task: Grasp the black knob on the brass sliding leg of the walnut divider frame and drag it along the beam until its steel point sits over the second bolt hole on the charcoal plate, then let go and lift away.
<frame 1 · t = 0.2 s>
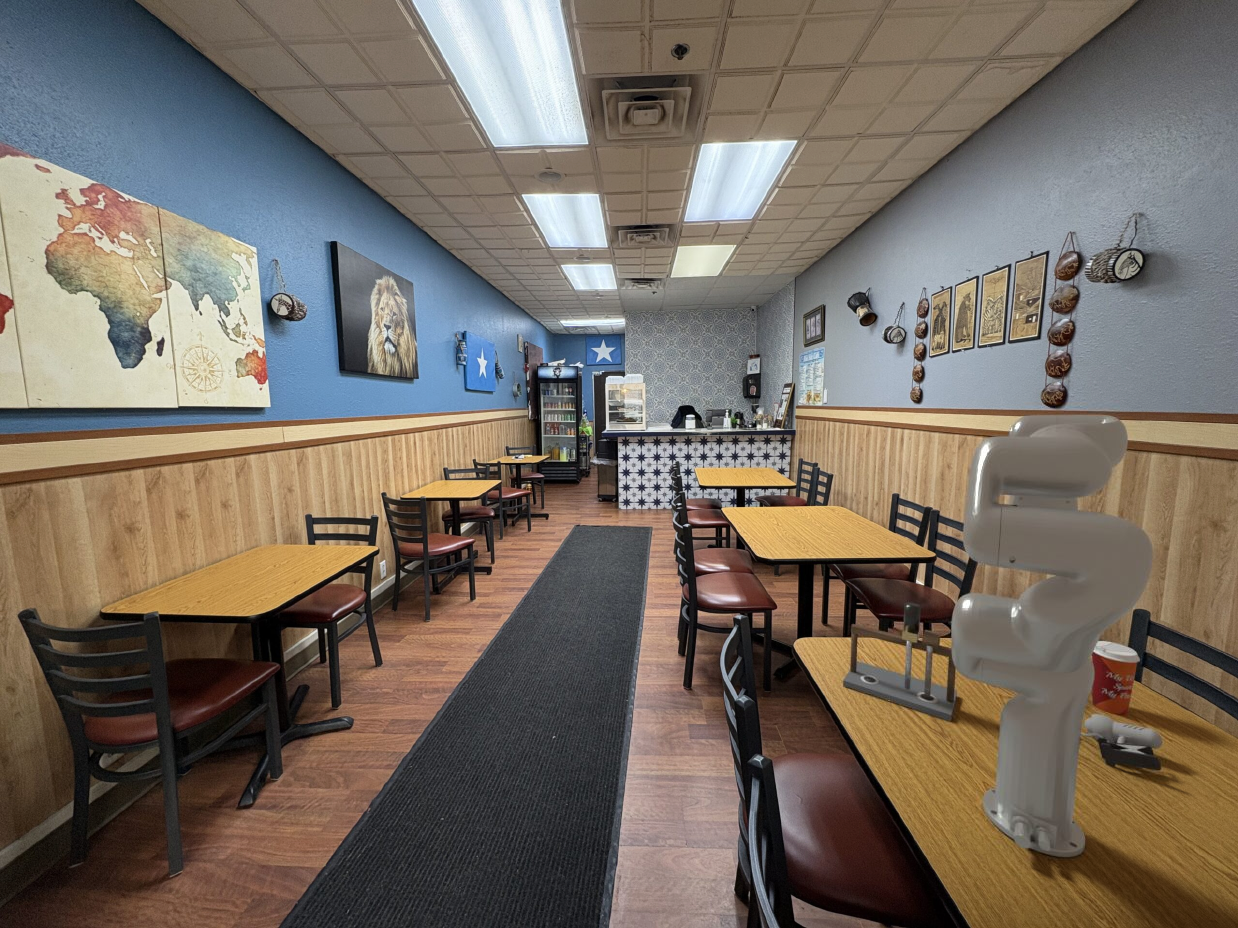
hand: (1037, 567, 93), 37 cm above the table, tool pointing down, fingers open, 9 cm apart
clip-on lamp: (1093, 746, 96), on the table
hole plate: (898, 690, 116), on the table
divider frame: (900, 656, 115), on the hole plate, point 9 cm above the table
paper cup: (1109, 707, 108), on the table
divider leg: (910, 646, 113), point 12 cm above the table, slide at 0.0 cm
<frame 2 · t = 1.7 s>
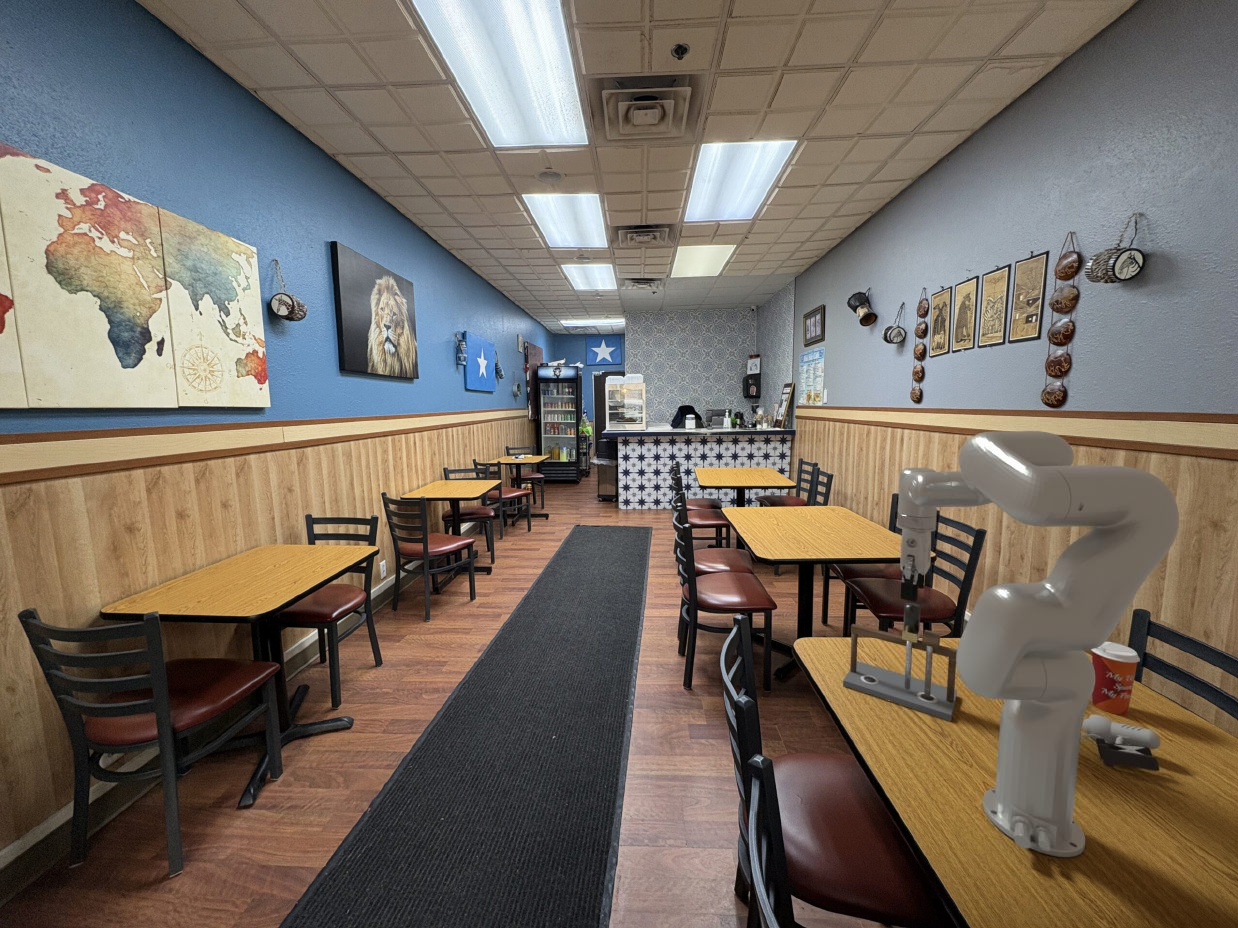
hand: (912, 593, 112), 25 cm above the table, tool pointing down, fingers open, 9 cm apart
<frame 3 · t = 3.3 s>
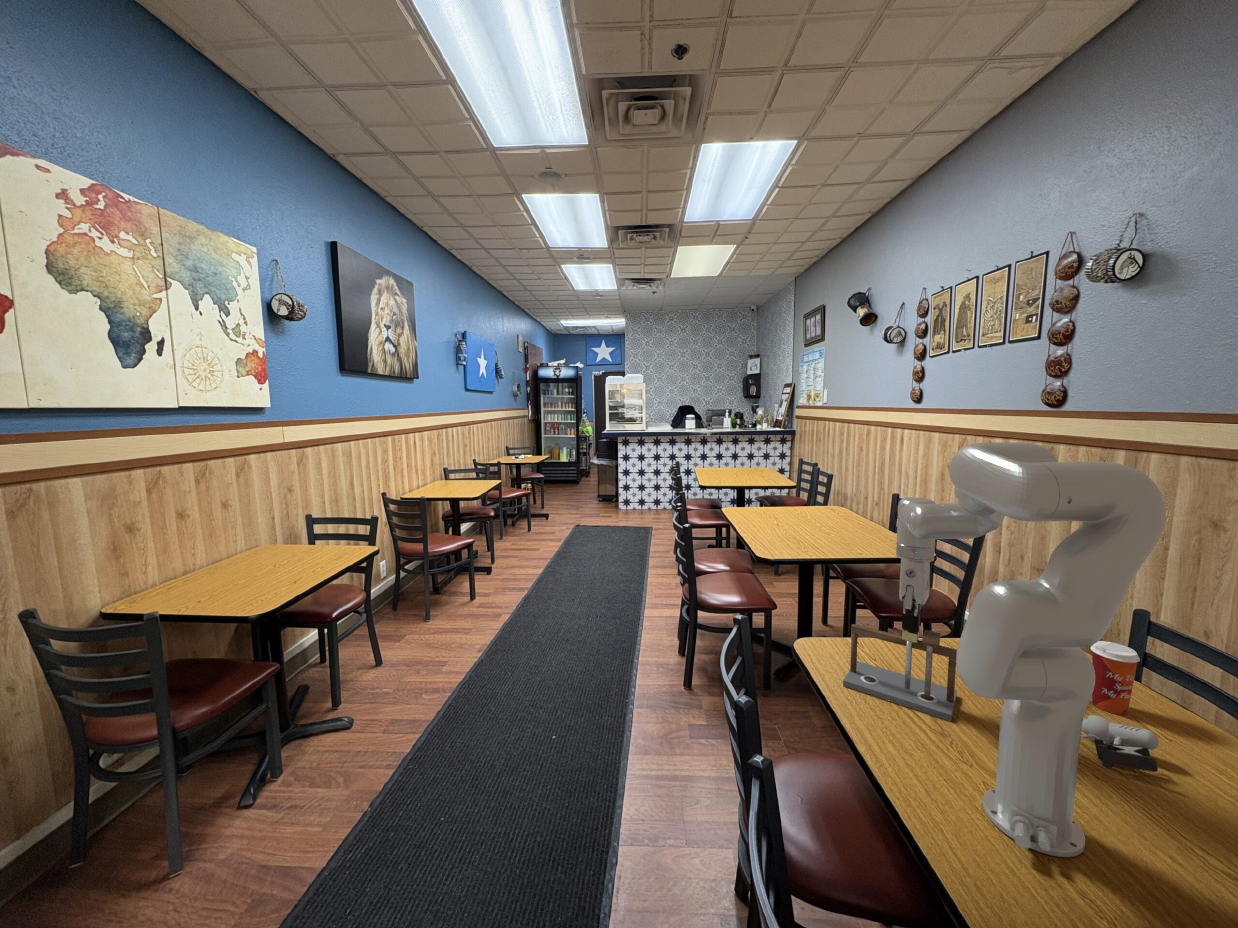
hand: (911, 626, 113), 17 cm above the table, tool pointing down, fingers closed on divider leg, 3 cm apart
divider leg: (910, 646, 113), point 12 cm above the table, slide at 0.0 cm, touching gripper
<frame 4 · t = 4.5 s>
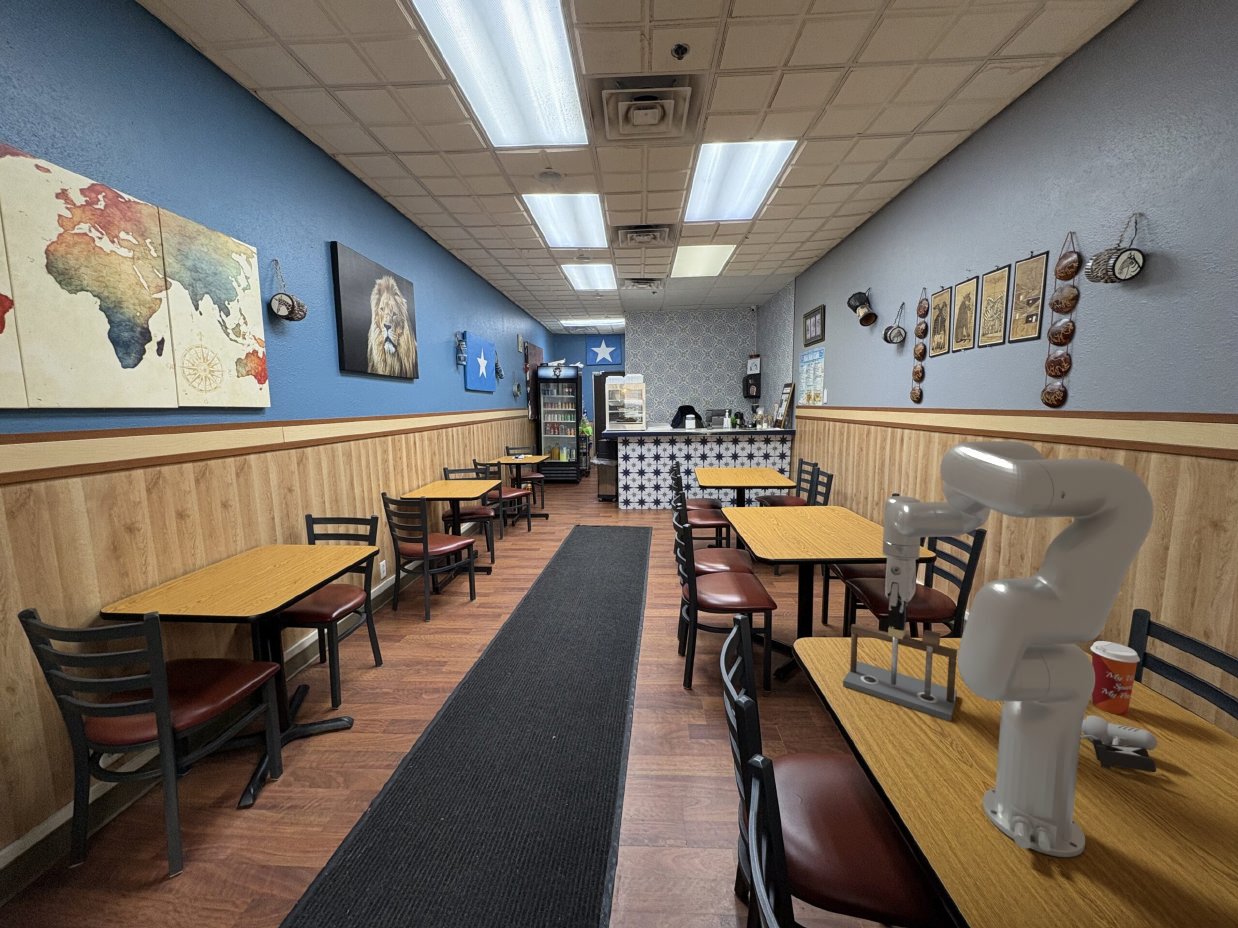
hand: (897, 623, 115), 17 cm above the table, tool pointing down, fingers closed on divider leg, 3 cm apart
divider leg: (896, 642, 115), point 12 cm above the table, slide at 2.9 cm, touching gripper
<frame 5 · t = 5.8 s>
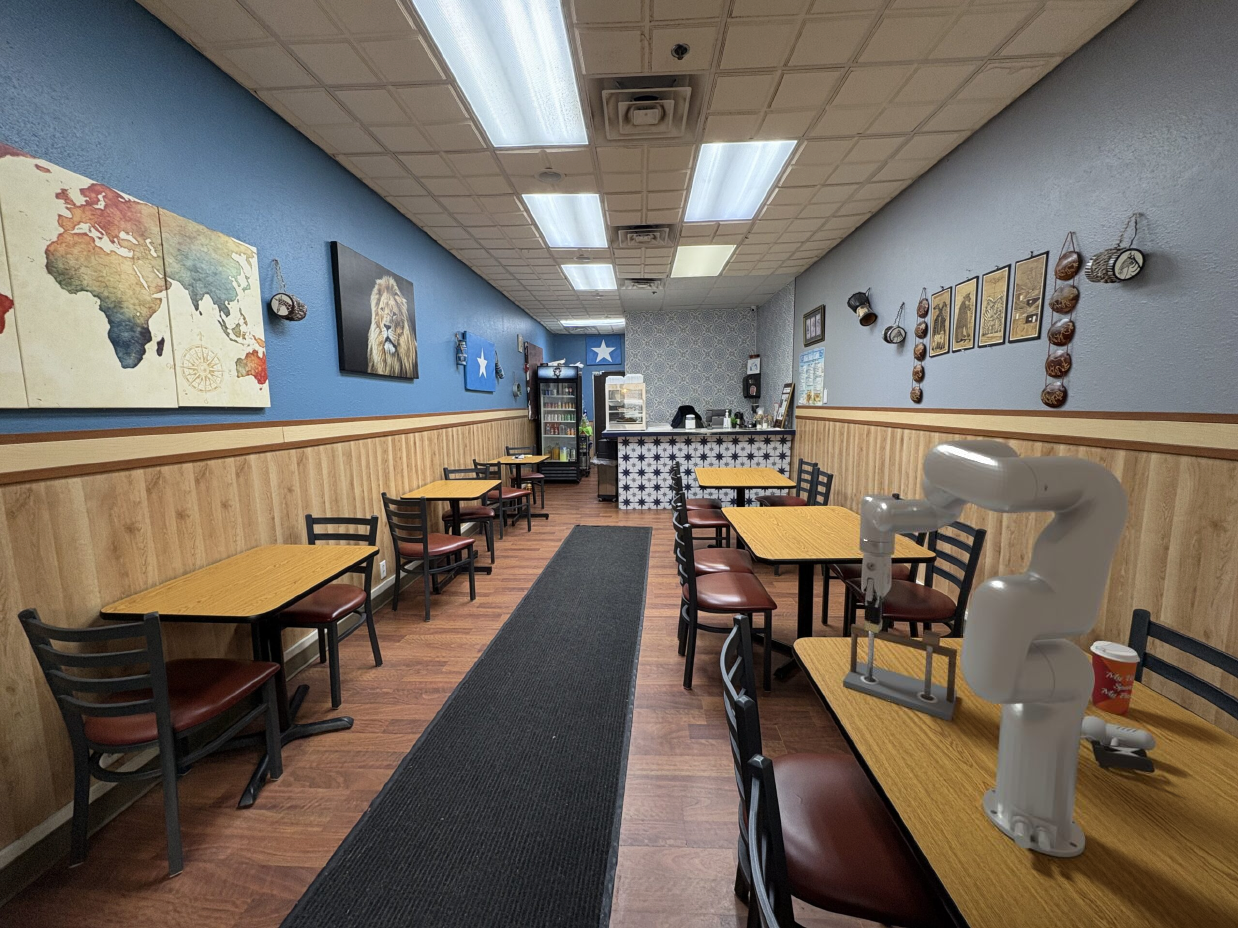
hand: (873, 617, 118), 17 cm above the table, tool pointing down, fingers closed on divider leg, 3 cm apart
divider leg: (872, 636, 118), point 12 cm above the table, slide at 8.0 cm, touching gripper
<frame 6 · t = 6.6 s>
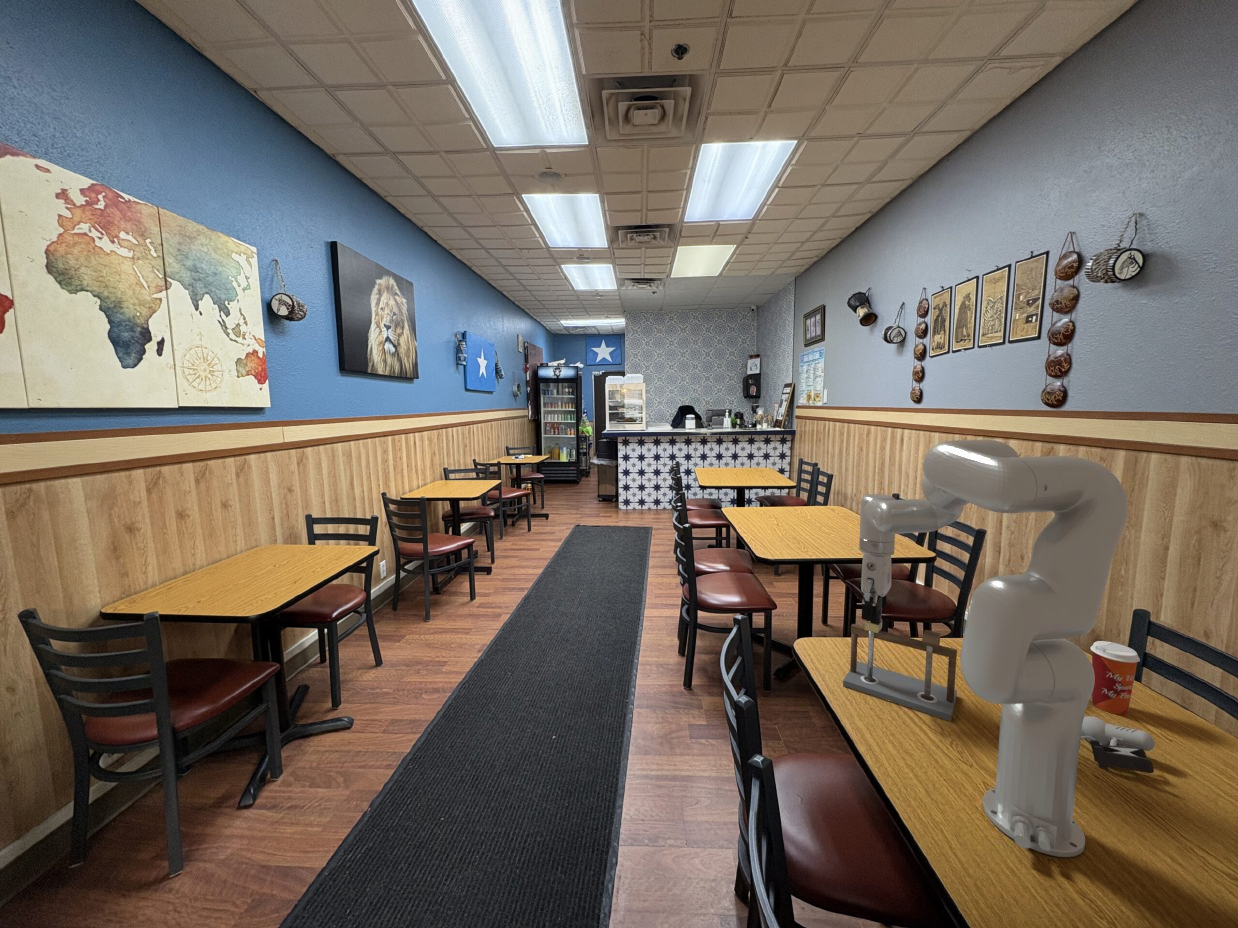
hand: (873, 613, 118), 18 cm above the table, tool pointing down, fingers open, 9 cm apart
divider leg: (872, 636, 118), point 12 cm above the table, slide at 8.0 cm
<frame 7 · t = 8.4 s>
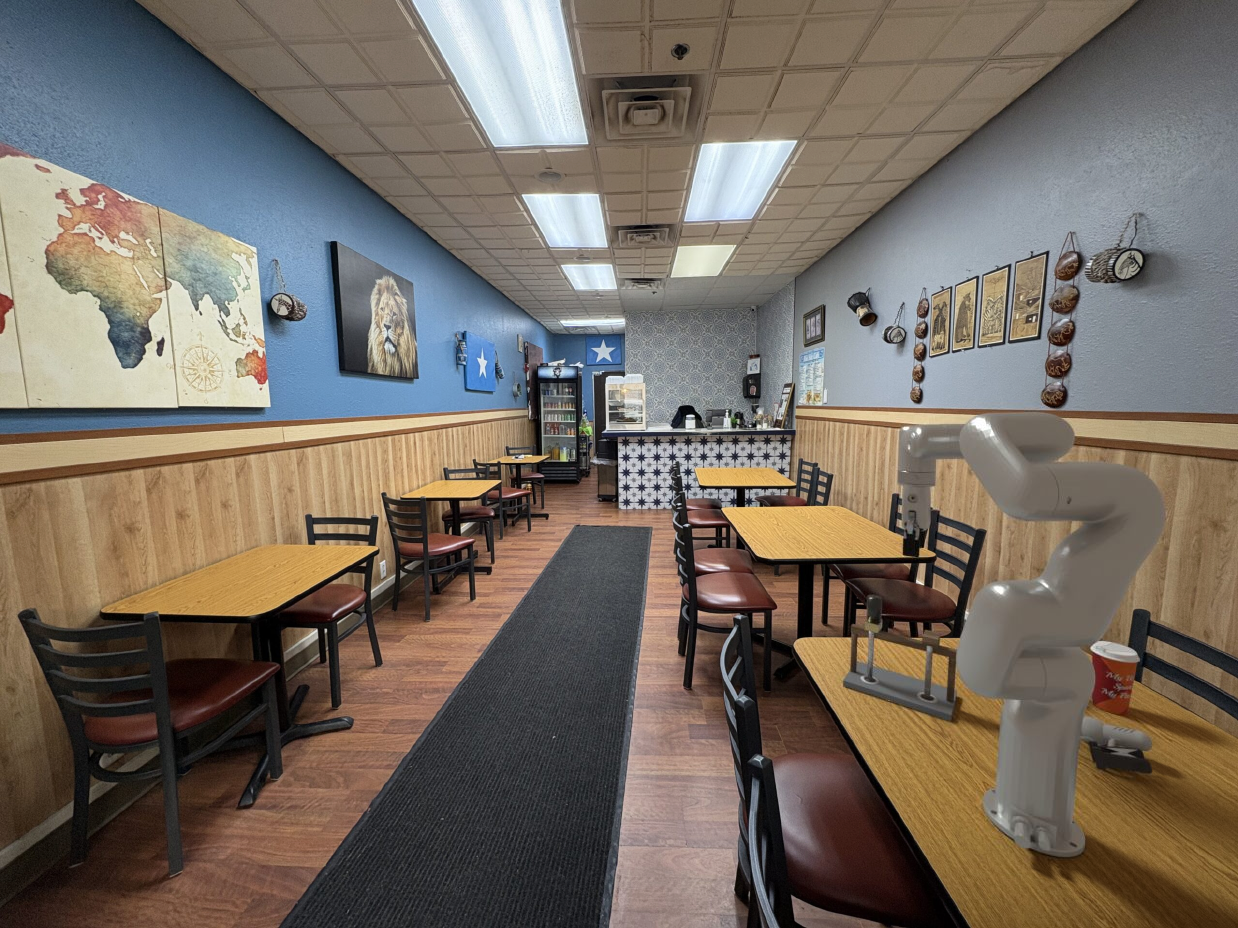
hand: (913, 551, 112), 35 cm above the table, tool pointing down, fingers open, 9 cm apart
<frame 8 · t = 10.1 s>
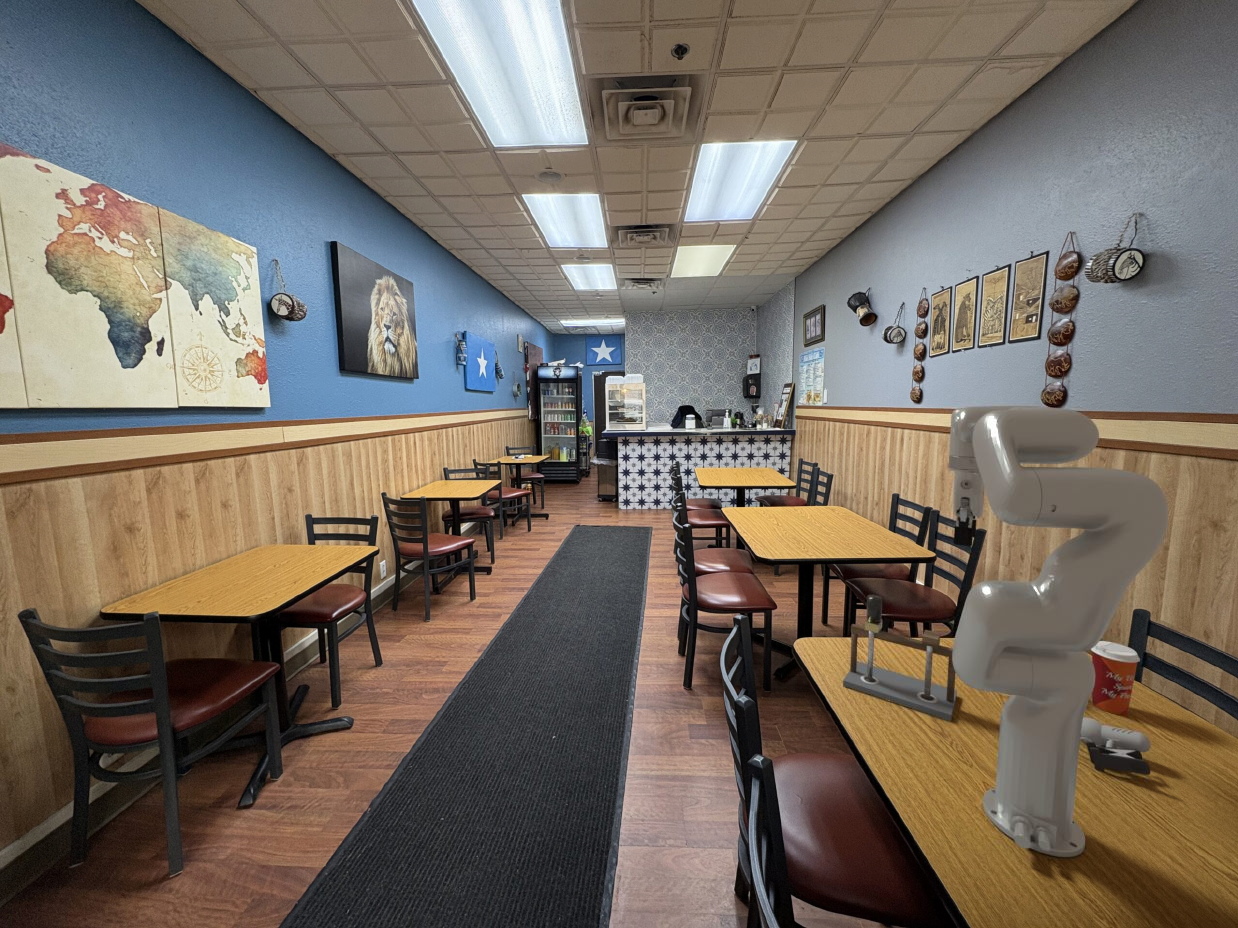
hand: (964, 540, 107), 38 cm above the table, tool pointing down, fingers open, 9 cm apart
at the end: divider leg slide at 8.0 cm; the gripper is holding nothing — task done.
